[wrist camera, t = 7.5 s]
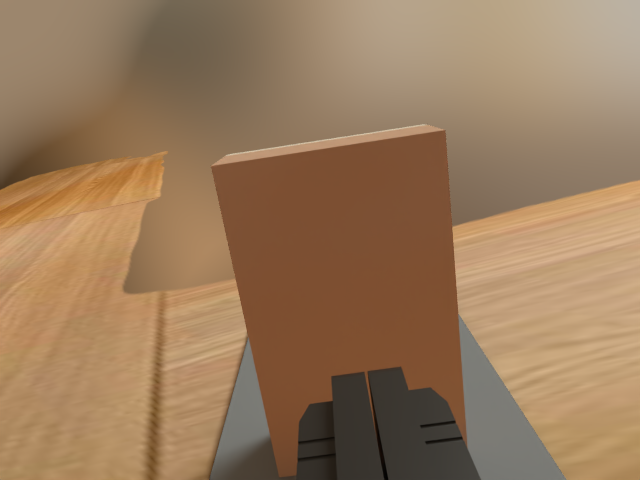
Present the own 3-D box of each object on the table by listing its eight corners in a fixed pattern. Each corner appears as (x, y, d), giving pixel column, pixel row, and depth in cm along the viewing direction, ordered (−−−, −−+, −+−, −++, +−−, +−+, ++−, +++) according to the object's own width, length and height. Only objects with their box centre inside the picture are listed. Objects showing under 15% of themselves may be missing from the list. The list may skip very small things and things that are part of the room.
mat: (435, 283, 42) (435, 278, 42) (567, 490, 20) (567, 481, 20) (258, 308, 43) (257, 303, 42) (198, 536, 21) (195, 528, 20)
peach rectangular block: (447, 406, 26) (424, 124, 21) (467, 452, 22) (445, 130, 18) (283, 428, 26) (227, 154, 21) (279, 477, 22) (211, 165, 18)
